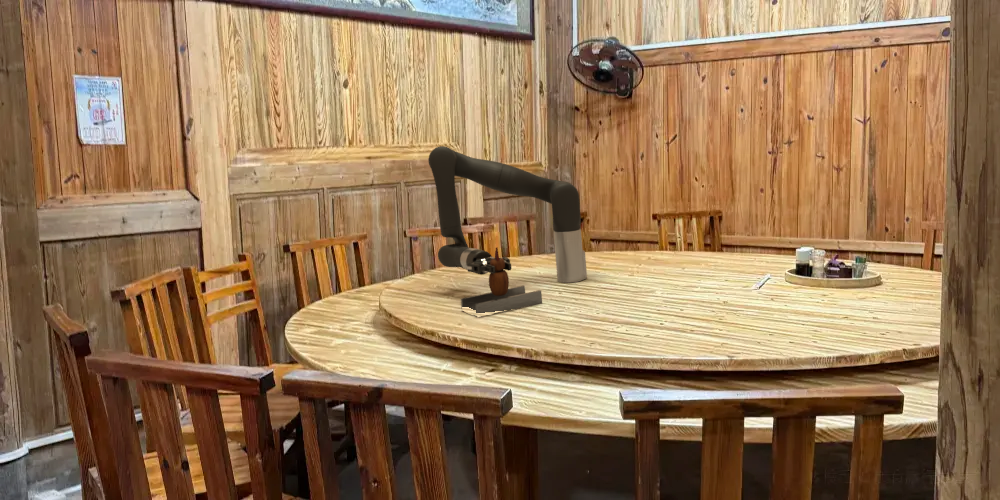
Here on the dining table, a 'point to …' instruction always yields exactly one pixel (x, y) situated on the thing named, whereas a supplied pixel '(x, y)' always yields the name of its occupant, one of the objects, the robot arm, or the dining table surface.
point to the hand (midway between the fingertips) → (501, 268)
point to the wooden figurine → (498, 276)
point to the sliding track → (503, 300)
